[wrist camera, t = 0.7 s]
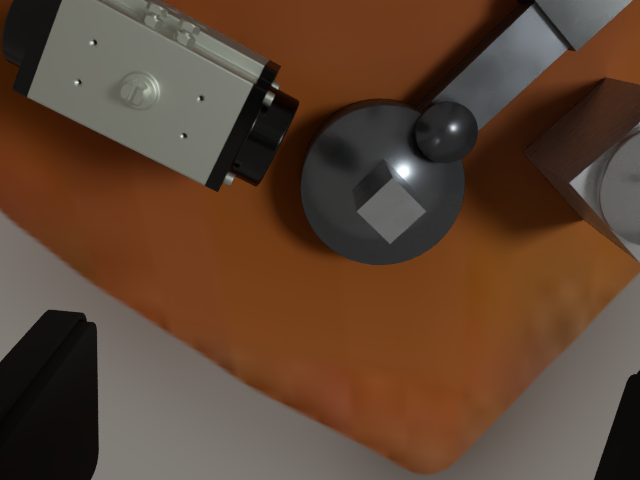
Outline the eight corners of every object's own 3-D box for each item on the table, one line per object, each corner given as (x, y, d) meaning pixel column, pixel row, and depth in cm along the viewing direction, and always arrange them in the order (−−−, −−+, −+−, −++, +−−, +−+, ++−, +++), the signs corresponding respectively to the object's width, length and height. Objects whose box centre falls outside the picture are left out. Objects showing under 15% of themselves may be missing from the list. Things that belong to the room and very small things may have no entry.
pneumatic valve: (267, 152, 36) (246, 216, 25) (77, 54, 34) (-41, 75, 23) (311, 66, 34) (310, 92, 23) (114, -43, 32) (7, -73, 21)
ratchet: (577, -132, 31) (647, -171, 24) (676, 3, 33) (766, 0, 26) (270, 175, 36) (260, 211, 30) (374, 273, 38) (386, 327, 32)
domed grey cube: (606, 77, 34) (685, 94, 27) (666, 151, 36) (756, 187, 29) (522, 151, 36) (575, 187, 29) (583, 220, 37) (649, 270, 30)
